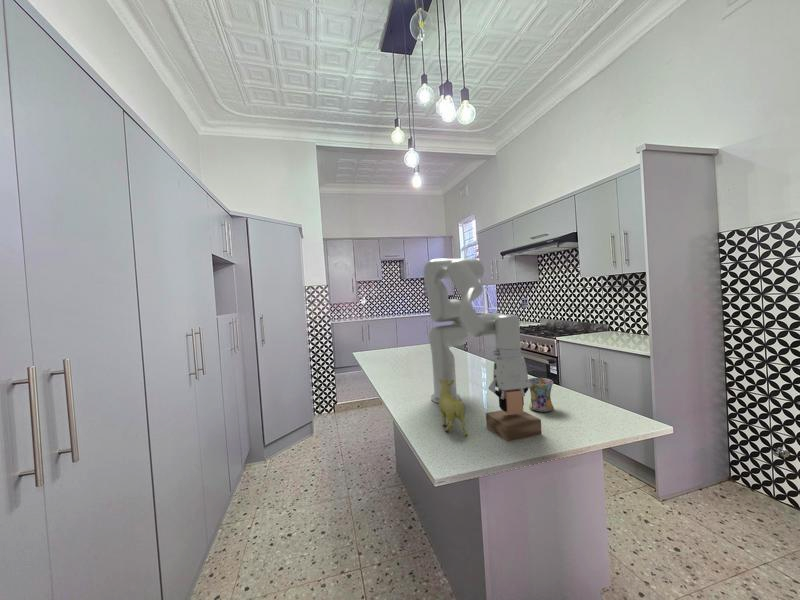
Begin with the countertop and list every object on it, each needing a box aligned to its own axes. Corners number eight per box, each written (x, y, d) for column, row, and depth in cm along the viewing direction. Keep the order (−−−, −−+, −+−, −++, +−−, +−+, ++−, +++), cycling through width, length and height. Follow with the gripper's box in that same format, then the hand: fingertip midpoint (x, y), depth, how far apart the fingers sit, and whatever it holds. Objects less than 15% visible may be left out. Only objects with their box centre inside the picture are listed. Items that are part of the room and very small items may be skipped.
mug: (560, 412, 117) (558, 383, 117) (534, 414, 117) (533, 385, 117) (544, 401, 129) (542, 375, 129) (521, 403, 129) (519, 376, 129)
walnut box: (486, 427, 109) (485, 413, 109) (516, 421, 113) (516, 407, 113) (508, 442, 98) (507, 426, 98) (541, 435, 101) (540, 419, 101)
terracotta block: (501, 409, 107) (499, 388, 107) (515, 407, 108) (513, 386, 108) (508, 414, 102) (507, 392, 102) (523, 412, 103) (522, 390, 103)
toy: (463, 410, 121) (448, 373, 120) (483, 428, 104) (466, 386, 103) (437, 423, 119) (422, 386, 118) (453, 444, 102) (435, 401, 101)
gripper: (488, 357, 100) (492, 416, 100) (539, 352, 102) (542, 409, 103) (478, 353, 107) (482, 408, 107) (526, 348, 110) (529, 402, 110)
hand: (511, 408), depth 105 cm, fingers closed on terracotta block, 5 cm apart
